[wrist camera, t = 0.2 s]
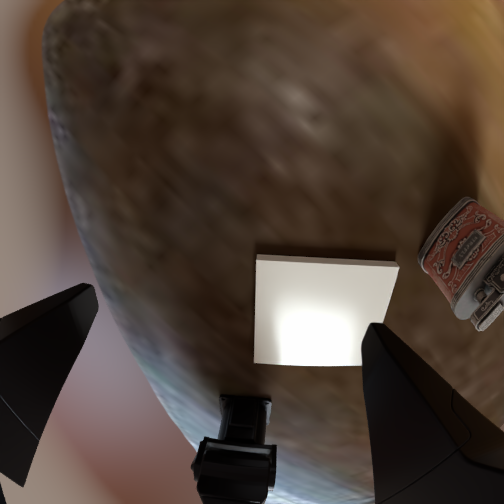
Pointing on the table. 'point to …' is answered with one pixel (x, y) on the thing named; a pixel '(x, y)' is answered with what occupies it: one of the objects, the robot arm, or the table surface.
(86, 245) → the table surface
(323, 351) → the coaster
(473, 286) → the lighter
